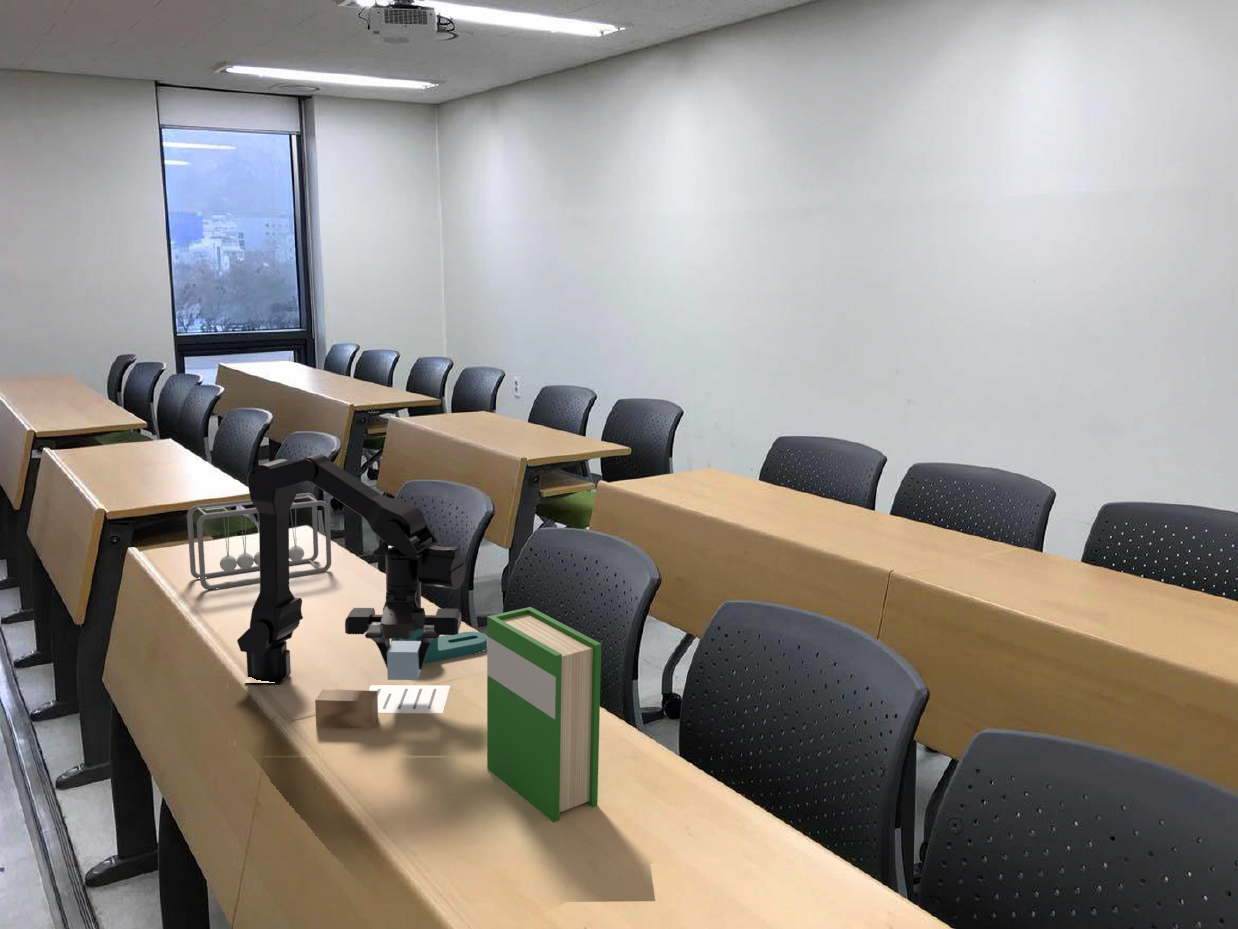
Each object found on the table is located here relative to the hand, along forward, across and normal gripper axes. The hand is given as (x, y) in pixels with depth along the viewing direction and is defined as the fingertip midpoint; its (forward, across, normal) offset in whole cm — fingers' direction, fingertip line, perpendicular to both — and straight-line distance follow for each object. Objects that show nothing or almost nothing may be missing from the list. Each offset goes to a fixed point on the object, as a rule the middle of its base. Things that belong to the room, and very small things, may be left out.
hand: (404, 668), depth 168 cm
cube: (+1, 0, 0) cm, 1 cm away
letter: (+6, 0, 0) cm, 6 cm away
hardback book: (+6, +24, -29) cm, 38 cm away
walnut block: (+6, -8, -9) cm, 13 cm away
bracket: (+6, +4, +21) cm, 22 cm away
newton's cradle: (+6, -45, +68) cm, 82 cm away
